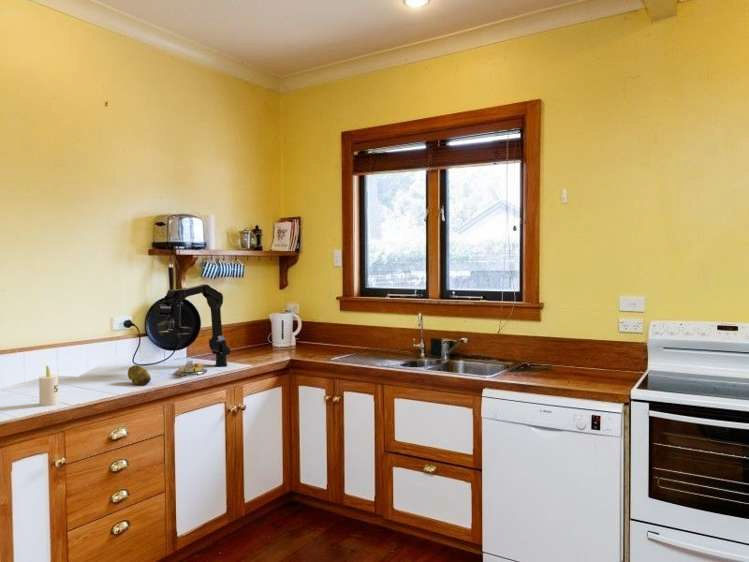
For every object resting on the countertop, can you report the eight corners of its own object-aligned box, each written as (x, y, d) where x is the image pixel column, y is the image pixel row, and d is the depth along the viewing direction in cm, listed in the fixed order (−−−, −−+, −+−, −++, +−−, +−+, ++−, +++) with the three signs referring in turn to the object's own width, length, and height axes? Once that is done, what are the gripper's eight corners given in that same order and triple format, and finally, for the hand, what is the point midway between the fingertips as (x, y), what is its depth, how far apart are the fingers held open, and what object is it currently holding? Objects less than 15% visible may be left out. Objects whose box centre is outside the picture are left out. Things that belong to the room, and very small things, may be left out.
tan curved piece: (181, 368, 287) (181, 358, 287) (204, 367, 289) (204, 358, 289) (175, 374, 270) (175, 364, 270) (199, 374, 272) (199, 364, 271)
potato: (132, 387, 250) (131, 369, 249) (126, 382, 260) (126, 364, 260) (151, 385, 254) (151, 367, 254) (145, 380, 265) (145, 363, 265)
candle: (50, 406, 216) (50, 367, 215) (35, 405, 217) (35, 366, 217) (62, 402, 222) (62, 364, 222) (47, 401, 223) (47, 363, 223)
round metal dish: (178, 370, 289) (178, 365, 289) (208, 369, 291) (208, 364, 291) (172, 376, 274) (172, 370, 274) (204, 375, 276) (204, 369, 276)
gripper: (147, 314, 275) (146, 346, 275) (174, 316, 266) (173, 350, 266) (166, 313, 285) (165, 345, 285) (192, 315, 276) (191, 348, 276)
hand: (173, 347), depth 278 cm, fingers open, 9 cm apart
